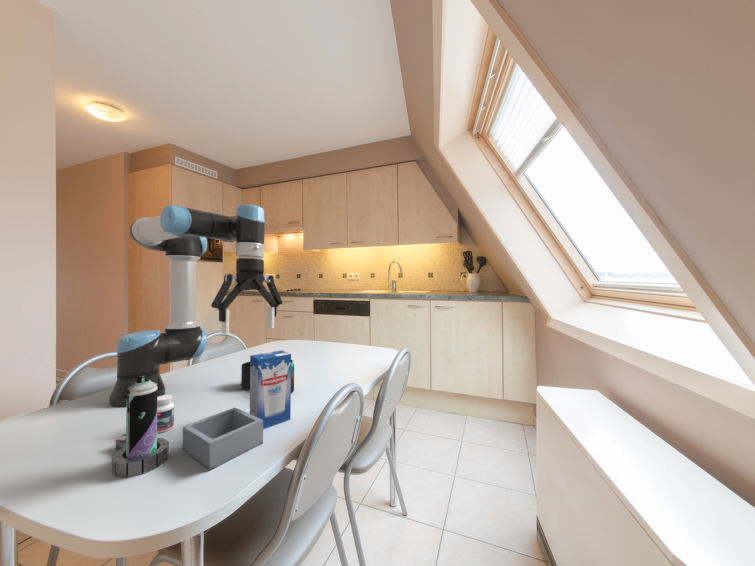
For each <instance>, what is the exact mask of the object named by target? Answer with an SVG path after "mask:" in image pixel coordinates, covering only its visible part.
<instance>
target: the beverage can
mask: <svg viewBox="0 0 755 566" xmlns="http://www.w3.org/2000/svg"><path fill="white" fill-rule="evenodd" d="M294 391H295V363H294V361H293V359H291V394H292V393H293V392H294Z"/></svg>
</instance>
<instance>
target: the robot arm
mask: <svg viewBox="0 0 755 566" xmlns="http://www.w3.org/2000/svg"><path fill="white" fill-rule="evenodd" d="M235 213H236V215H233V216H232V215H231V216H230V215H225V214H221V213H219V214H218V213H214V212H209V211H204V210H198V209H194V208H188V207H185V206H183V205H173V204H172V205H171V204H166V205H165V206H163V208H162V210H161V212H160V215H157V216H154V217H147V216H145V217H141V218H138V219H135V220H134V221H133V222H132V223H131V224H130V225H129V228H128V229H129V231H128V233H129V236H130V238H131V239H132V240H133V241H134V242H135V244H137V245H139V246H140V247H142V248H145V249H148V250H152V251H157V252H165V258H166V259H167V260H169V277H170V278H169V323H168V324H167V325H166V326H165V327H164V332H161V331H160V330H159V329H149V330H141V331H135V332H131V333H129V334H125V335H123V336H121V337H120V338H119V339H118V341H117V346H116V355H117V356H116V381H115V384H114V386H113V388H112V390H111V393H110V395H109V405H110V406H111V407H118V408H119V407H121V408H122V407H123V408H124V407H126V405H127V389H128V388H129V387H130V386H132V385H134V384H135V382H136V381H137V380H138V376H145V375H147V378H148V379H149V380H150V381H151V382H154V383H157V387H158V390H157V397H159V396H163V395H166V386H165V384H164V381H163V378H162V376H161V374H160V367H161V365H166V364H171V363H176V362H177V363H178V362H184V361H189V360H192V359H197V358H199V357H201V356H202V355H203V353H204V352H205V349H206V347H207V342H208V340H207V339H208V337H207V332H206V330H205V329H204V328H201V324H200V323H199V322H198V321H197V262H198V261H199V260H200V259H201V257H202V255H204V254H205V253H206V252H207V249H208V239H213V240H220V241H221V242H224V243H234V242H236V247H235V248H236V249H235V251H236V252H235V254H236V257H237V258H236V260H235V261H236V262H235V272H236V273H235V274H231V273H225V274H224V276H223V282H222V284H221V286H220V287H219V289H218V291H217V293H216V295H215V297H214V299H213V300H212V302H211V305H210V306H211V308H213V309H217V310H218V321H219V322H221V333H222V334H225V335H229V334H230V310H229V309H228V308H229V306H230V305H231V304H232V303H233V302H234V301H235V299H236V298H237V297H238V296H239V294H240V293H241V292H243V291H258V292H259V293H260V295H261V296H262V298H263V299H264V300H265V301H266V303H268V305H269V306H267V317H266V318H267V323H266V324H267V328H268V329H274V328H275V318H276V317H277V316H278V315H277V313H278V311H277V309H278V308H279V306H280V305H283V300H282V297H281V295H280V294H279V290H278V289H277V288H278V287H276V284H275V281H274V280H275V279H274V276H273V275H264V271H265V260H264V257H265V223H266V220H265V210H264V208H262V206H259V205H255V204H246V203H242V204H239V205H237V207H236V212H235ZM234 282H236V285H235V286H233V289H232V290H231V291H230V292H229V289H230V287H231V285H232V284H233V283H234ZM263 282H264V283H266V286H267V288H268V289H267V288H266V287H265V285H264V284H263ZM268 290H269V291H268ZM228 292H229V293H228ZM269 292H270V293H269ZM227 293H228V295H227ZM226 295H227V296H226Z"/></svg>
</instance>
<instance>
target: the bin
mask: <svg viewBox="0 0 755 566" xmlns="http://www.w3.org/2000/svg"><path fill="white" fill-rule="evenodd" d="M262 444H264V429H263V420H262V419H260V418H257V417H255V416H253V415H251V414H250V412H249V413H248V412H246V411H245V410H243V409H239V408H237V407H231V408H230V409H226V410H224V411H221V412H218V413H216V414H213V415H211V416H208V417H205V418H202V419H199V420H197V421H194V422H191V423H188V424H186V425H183V426H182V451H183V452H184V453H185V454H186V455H188V456H189V457H190V458H192V459H193V460H194V461H196V462H197V463H198V464H200V465H201V466H202V467H204V468H205V469H207V470H208V471H211V470H212V471H213V470H214V469H216V468H217V467H220V466H222V465H224V464H225V463H228V462H229V461H231V460H233V459H235V458H237V457H239V456H241V455H243V454H245V453H247V452H249V451H251V450H253V449H254V448H256V447H258V446H261V445H262Z"/></svg>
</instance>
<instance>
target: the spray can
mask: <svg viewBox="0 0 755 566" xmlns="http://www.w3.org/2000/svg"><path fill="white" fill-rule="evenodd" d="M157 390H158V387H157V383H154V382H151V381H150V380H149V379H148V378H147V375H145V376H138V380H137V381H136V382H135V384H134V385H132V386H130V387H129V388H128V389H127V405H126V406H125V407H126V409H125V410H126V413H125V414H126V417H125V418H126V421H125V424H126V425H125V427H126V428H125V429H126V431H125V432H126V433H125V434H126V459H134V458H139V457H143V456H145V455H148V454H150V453H153V452H154V451H155V450H157V438H158V433H157Z"/></svg>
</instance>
